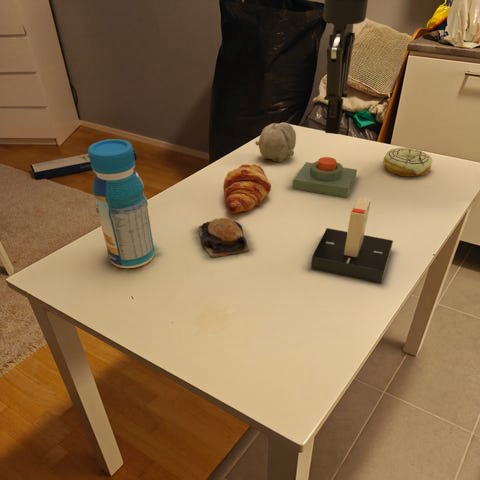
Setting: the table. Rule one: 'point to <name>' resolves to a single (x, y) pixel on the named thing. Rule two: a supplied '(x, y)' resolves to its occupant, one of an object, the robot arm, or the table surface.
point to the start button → (327, 164)
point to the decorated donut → (407, 162)
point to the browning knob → (357, 227)
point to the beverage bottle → (121, 203)
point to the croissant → (245, 187)
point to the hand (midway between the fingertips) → (332, 132)
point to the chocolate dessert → (223, 237)
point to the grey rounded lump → (277, 142)
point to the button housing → (325, 180)
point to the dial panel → (362, 267)
